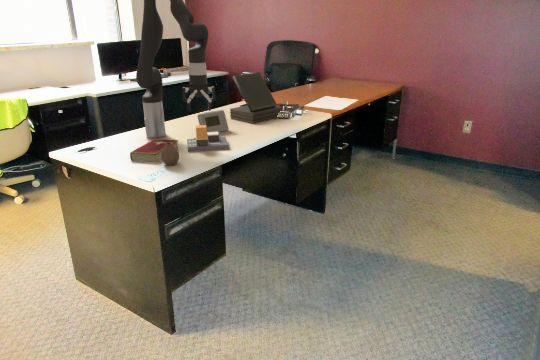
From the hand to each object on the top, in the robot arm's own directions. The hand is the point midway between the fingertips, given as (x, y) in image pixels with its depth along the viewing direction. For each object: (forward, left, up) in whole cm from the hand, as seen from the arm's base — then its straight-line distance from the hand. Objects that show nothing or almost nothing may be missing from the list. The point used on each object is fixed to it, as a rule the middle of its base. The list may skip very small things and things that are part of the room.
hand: (199, 110), depth 185 cm
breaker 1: (0, -3, -14) cm, 15 cm away
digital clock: (+7, +24, -17) cm, 31 cm away
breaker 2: (+5, +3, -14) cm, 16 cm away
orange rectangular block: (0, -3, -11) cm, 12 cm away
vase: (-14, -21, -17) cm, 31 cm away
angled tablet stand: (+34, +52, -17) cm, 64 cm away
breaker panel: (+2, +1, -17) cm, 17 cm away
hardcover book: (-21, -5, -17) cm, 27 cm away
